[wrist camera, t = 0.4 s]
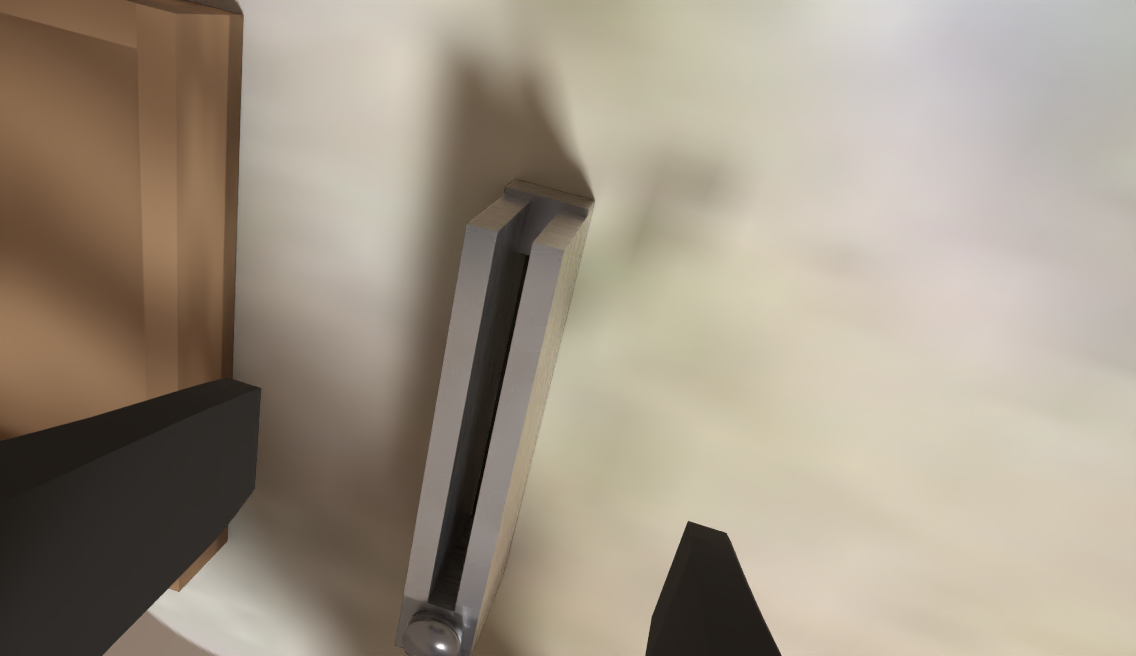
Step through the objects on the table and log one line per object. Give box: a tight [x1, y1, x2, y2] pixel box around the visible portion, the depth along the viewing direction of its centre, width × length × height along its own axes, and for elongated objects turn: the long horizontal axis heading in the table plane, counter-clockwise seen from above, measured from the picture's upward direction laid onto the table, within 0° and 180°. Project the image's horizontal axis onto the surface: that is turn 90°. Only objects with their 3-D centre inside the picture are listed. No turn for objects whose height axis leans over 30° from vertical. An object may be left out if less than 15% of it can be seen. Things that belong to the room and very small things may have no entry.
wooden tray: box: [0, 0, 243, 592], centre depth 22 cm, size 18×10×3 cm, turn 167°
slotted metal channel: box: [395, 179, 595, 656], centre depth 20 cm, size 13×2×4 cm, turn 167°
